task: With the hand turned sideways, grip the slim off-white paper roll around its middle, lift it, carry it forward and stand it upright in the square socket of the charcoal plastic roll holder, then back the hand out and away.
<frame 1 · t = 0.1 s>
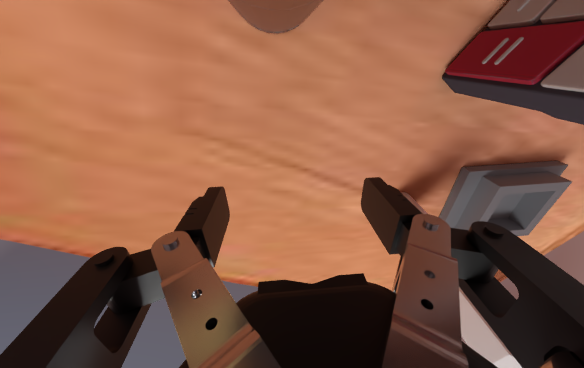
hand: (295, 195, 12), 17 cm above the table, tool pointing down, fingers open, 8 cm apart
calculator: (486, 41, 24), on the table
roll holder: (490, 196, 36), on the table
milk carton: (453, 286, 52), on the table
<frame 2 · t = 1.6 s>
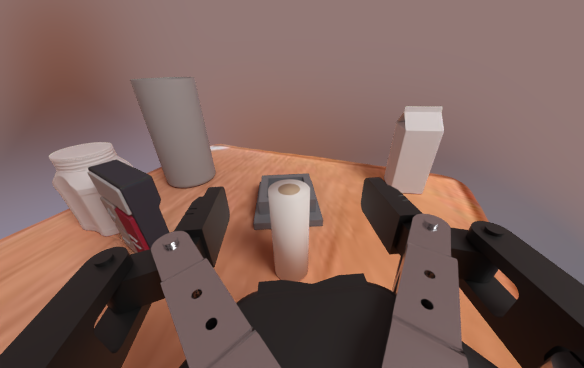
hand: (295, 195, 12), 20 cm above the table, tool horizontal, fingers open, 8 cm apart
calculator: (154, 252, 35), on the table
cylinder vase: (193, 178, 58), on the table
jar: (120, 218, 43), on the table
roll holder: (287, 203, 46), on the table
milk carton: (401, 186, 52), on the table
paper roll: (291, 267, 31), on the table
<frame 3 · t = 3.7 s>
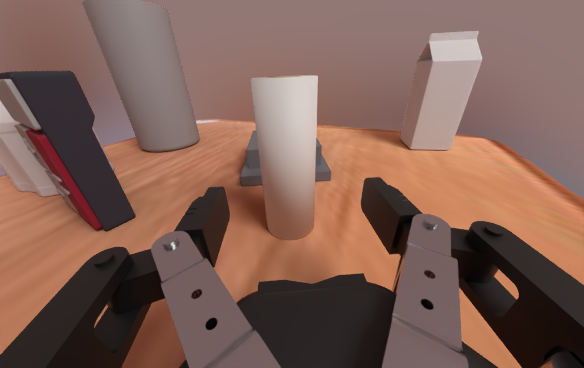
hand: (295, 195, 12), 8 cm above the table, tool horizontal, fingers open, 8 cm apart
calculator: (103, 211, 26), on the table
cylinder vase: (172, 144, 49), on the table
jar: (71, 180, 34), on the table
roll holder: (284, 162, 37), on the table
milk carton: (422, 145, 43), on the table
paper roll: (290, 223, 22), on the table
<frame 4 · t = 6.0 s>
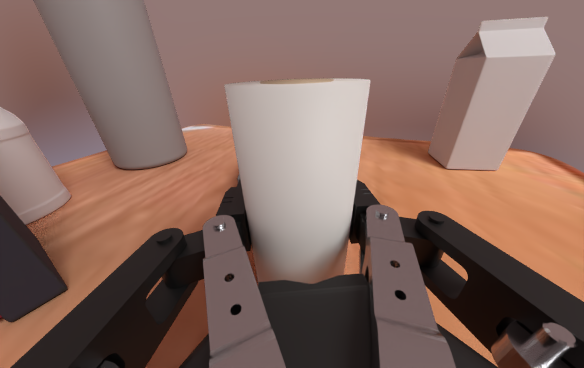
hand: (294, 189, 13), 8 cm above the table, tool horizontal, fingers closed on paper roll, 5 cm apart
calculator: (27, 275, 18), on the table
cylinder vase: (154, 158, 41), on the table
jar: (11, 213, 26), on the table
milk carton: (458, 162, 35), on the table
paper roll: (300, 309, 14), on the table, touching gripper
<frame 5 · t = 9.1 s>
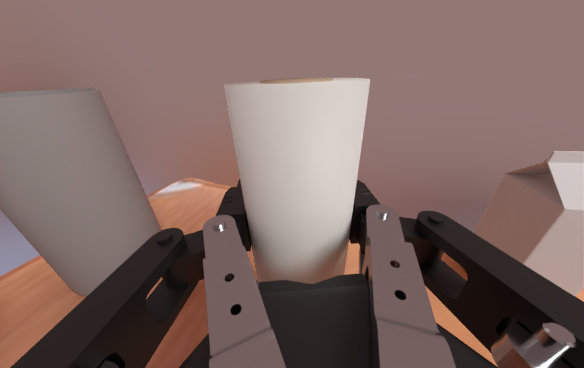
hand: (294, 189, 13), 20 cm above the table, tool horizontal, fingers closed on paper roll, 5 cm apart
cylinder vase: (125, 262, 33), on the table
milk carton: (500, 285, 28), on the table
paper roll: (300, 309, 14), point 12 cm above the table, touching gripper
when the fingers open (10 cm above the table, at t = 12.1 s): paper roll stays where it is, resting on roll holder.
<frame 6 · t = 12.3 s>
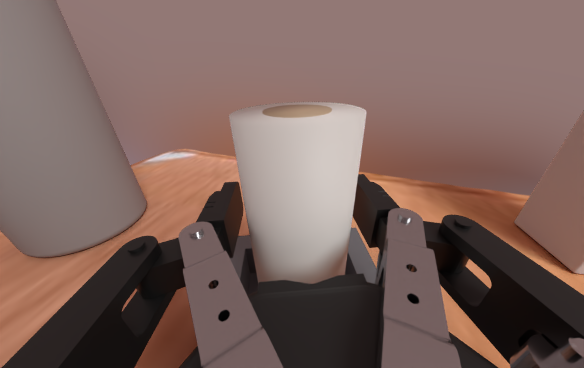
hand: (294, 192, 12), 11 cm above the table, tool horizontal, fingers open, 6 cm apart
cylinder vase: (94, 224, 27), on the table
roll holder: (300, 328, 15), on the table
milk carton: (577, 250, 21), on the table
paper roll: (301, 318, 15), point 2 cm above the table, touching roll holder
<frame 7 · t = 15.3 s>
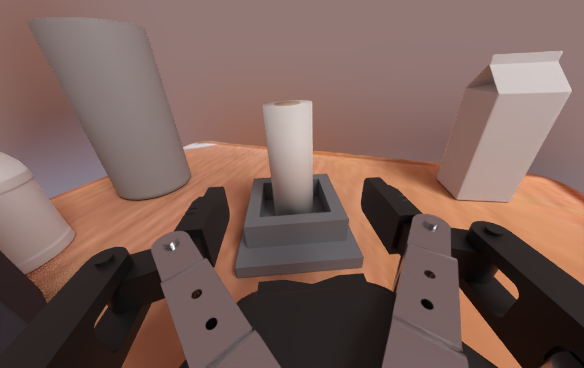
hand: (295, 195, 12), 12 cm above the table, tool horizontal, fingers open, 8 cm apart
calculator: (31, 339, 17), on the table
cylinder vase: (158, 185, 41), on the table
jar: (15, 256, 26), on the table
roll holder: (294, 223, 28), on the table
milk carton: (468, 190, 34), on the table
paper roll: (294, 214, 28), point 2 cm above the table, touching roll holder
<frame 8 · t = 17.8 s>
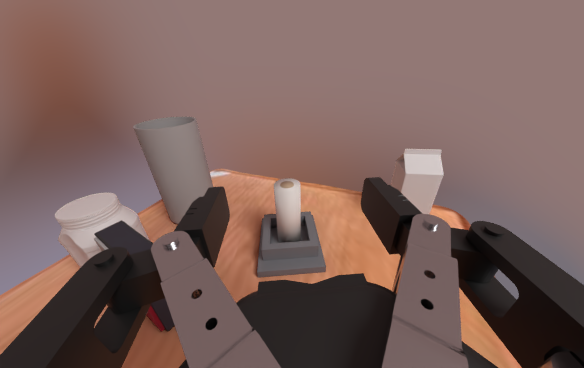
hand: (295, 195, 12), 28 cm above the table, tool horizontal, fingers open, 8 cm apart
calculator: (159, 306, 35), on the table
cylinder vase: (195, 212, 59), on the table
jar: (124, 264, 43), on the table
roll holder: (289, 243, 46), on the table
milk carton: (402, 221, 52), on the table
paper roll: (289, 239, 46), point 2 cm above the table, touching roll holder
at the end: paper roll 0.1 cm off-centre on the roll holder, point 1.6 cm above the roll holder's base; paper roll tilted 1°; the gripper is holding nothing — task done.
